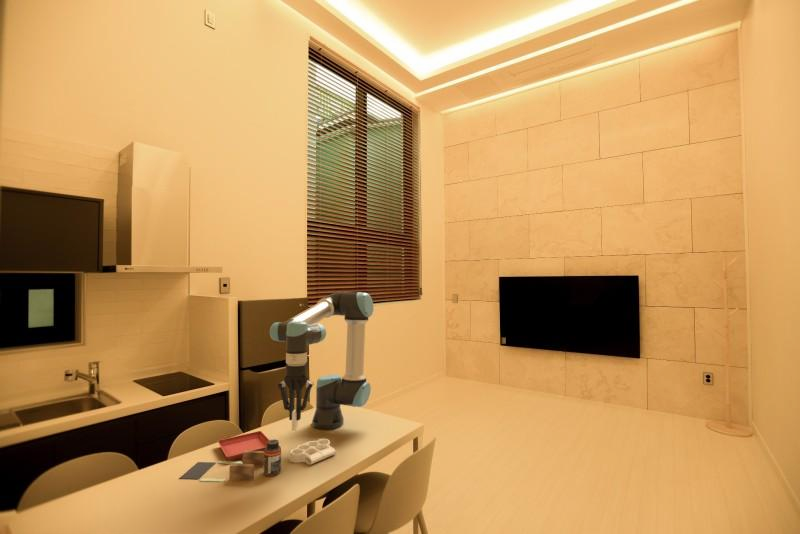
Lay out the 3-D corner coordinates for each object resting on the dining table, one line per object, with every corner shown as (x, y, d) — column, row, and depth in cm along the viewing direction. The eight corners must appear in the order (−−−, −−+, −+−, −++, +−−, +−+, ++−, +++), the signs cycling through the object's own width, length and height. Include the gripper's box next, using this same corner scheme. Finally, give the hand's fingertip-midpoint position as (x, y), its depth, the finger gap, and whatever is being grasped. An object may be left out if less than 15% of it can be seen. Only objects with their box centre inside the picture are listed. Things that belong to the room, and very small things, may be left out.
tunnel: (265, 464, 146) (265, 451, 146) (251, 480, 134) (252, 466, 134) (244, 463, 146) (244, 450, 147) (229, 480, 134) (229, 465, 135)
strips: (241, 462, 148) (241, 461, 148) (223, 482, 133) (223, 481, 133) (220, 461, 148) (220, 460, 148) (199, 481, 134) (199, 480, 134)
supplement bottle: (263, 470, 142) (263, 439, 142) (279, 467, 144) (280, 437, 144) (264, 478, 136) (265, 445, 137) (281, 475, 139) (282, 443, 139)
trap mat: (215, 463, 147) (215, 462, 147) (198, 479, 135) (198, 478, 135) (197, 462, 147) (197, 461, 147) (179, 478, 135) (179, 478, 135)
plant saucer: (226, 465, 146) (226, 456, 146) (216, 448, 161) (216, 440, 161) (273, 453, 157) (274, 444, 157) (260, 438, 171) (261, 430, 171)
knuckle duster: (304, 470, 143) (282, 457, 153) (341, 454, 157) (319, 443, 166) (304, 460, 143) (283, 449, 153) (341, 445, 157) (319, 435, 166)
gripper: (275, 365, 138) (273, 432, 137) (311, 366, 137) (309, 433, 136) (282, 361, 145) (280, 424, 144) (316, 362, 145) (315, 425, 144)
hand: (294, 428), depth 140 cm, fingers closed
